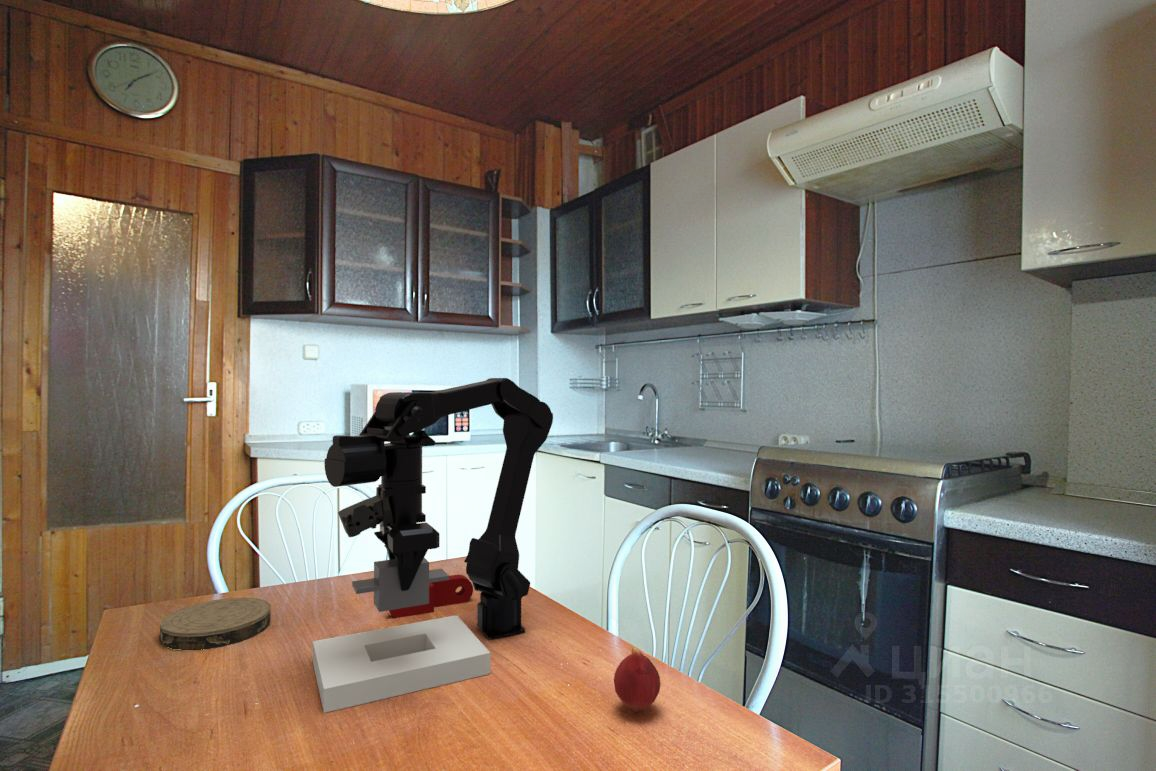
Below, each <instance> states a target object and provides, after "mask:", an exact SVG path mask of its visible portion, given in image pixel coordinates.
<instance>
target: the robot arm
mask: <svg viewBox="0 0 1156 771" xmlns="http://www.w3.org/2000/svg"><path fill="white" fill-rule="evenodd" d="M489 405H491V406H492V408H493V410H494V413H495V414H496V415H497V416H499V417H500V419H502V420H503V425H502V433H503V437H504V442H505V445H506V448H505V449H506V450H505V454H504V458H503V461H502V464H501V465H502V466H501V470H500V474H499V477H498V482H497V486H496V489H495V493H494V498H493V501H492V505H491V510H490V514H489V518H488V522H487V527H486V529H485V530H484V532H483V533H482V535H480V537H479V538H475V537H472V538H471V539H470V541H469V546H468V551H467V552H468V553H467V555H466V557H465V559H464V563H465V564H466V565H465V566H466V567H465V573H466V575H467V576H468V577H467V578H468V580H469V581H470V582H471V583H472V585H473V590H474V591H478V592H480V594H479V595H480V597H479V598H480V599H479V600H480V601H479V602H478V603H477V604H476V605H477V608H476V609H477V610H476V611H477V613H476V615H477V616H476V619H477V620H476V627H477V628H478V629H479V631H481V633H483V634H484V636H485V637H486V638H487V639H488V640H492V639H498V638H502V637H507V636H511V635H517V634H522V633H525V632H526V628H525V627H524V626H523V625H522V600H523V599H522V598H523V597H526V596H528V594H529V591H530V587H531V581H530V580H529V579H528V578H527V577H526V576H525V575H524V574H523V573H522V572H521V571H520V570H519V562H520V552H519V548H518V544H517V539H516V533H517V529H518V525H519V521H520V517H521V512H522V508H523V504H524V499H525V495H526V491H527V488H528V483H529V479H530V474H531V470H532V466H533V462H534V458H535V457H534V456H535V454H536V453H537V451H538V450H539V449H540V448H541V447H542V446H543V444H544V443H545V441H547V439H548V436H549V433H550V431H551V429H552V426H553V423H554V422H553V421H554V413H553V412H552V410H551V407H550V406H549V405H548V404H547V403H546V402H544V401H541V400H540V399H539V398H538V397H536V396H535V395H534V394H531V393H529V392H528V391H526V390H525V389H523V388H521V387H519V386H518V384H516V383H515V382H514V381H513V380H512V379H510V378H508V377H490V378H487V379H485V380H482V381H477V382H473V383H468V384H463V385H459V386H454V387H453V386H452V387H450V388H449V387H448V388H444V389H441V390H437V391H431V392H427V391H426V392H425V391H424V392H423V391H422V392H419V391H417V392H415V391H414V392H411V391H409V392H403V391H402V392H400V391H399V392H396V391H394V392H387V393H385V394H383V395H381V396H380V397H379V399H378V401H377V403H376V406H375V410H374V412H373V414H372V416H371V417H370V418H369V419H368V421H367V423H366V424H365V426H364V428H362V430H361V432H360V433H359V435H350V436H349V435H343V434H341V435H340V434H338V435H337V434H336V435H333V436H332V444H331V445H330V447H329V448H328V450H327V452H326V457H325V458H324V471H325V476H326V479H327V481H328V483H329V485H330V486H332V487H334V488H336V487H337V488H338V487H346V486H353V485H354V486H355V485H361V484H369V483H376V482H378V481H379V479H380V478H381V482H380V484H378V486H377V487H376V490H375V491H376V492H375V493H376V495H374V496H372V497H369V498H365V499H363V500H361V501H359V502H356V503H354V504H352V505H349V506H347V507H345V508H343V509H340V510H339V511H338V512H337V514H338V517H339V519H340V521H341V523H342V526H343V529H344V531H345V534H346V535H347V536H348V538H353V537H356V536H359V535H361V533H362V532H364V531H366V530H369V529H373V530H374V529H376V528H377V525H379V531H375V532H374V533H373V534H374V536H375V537H376V538H377V539H378V540H379V541H381V542H382V543H383V544H384V548H386V552H387V556H388V560H392V559H396V565H397V571H398V577H399V583H400V588H401V590H402V591H406V590H409V589H410V586H411V584H412V582H413V580H414V578H415V575H416V573H417V571H418V569H419V567H420V565H421V563H422V560H423V559H424V558H426V557H425V556H426V555H427V552H428V550H435V549H438V548H440V532H439V531H437V530H436V529H435V528H434V527H433V526H432V525H431V524H429V523H428V522H426V514H425V513H424V512H423V494H426V492H427V491H426V490H427V487H426V485H424V484H423V447H432V446H433V447H434V446H435V445H436V441H435V439H433V438H432V437H431V436H430V435H429V434H427V432H426V430H424V429H426V428H430V427H431V426H433V425H435V424H437V423H438V421H440V420H441V419H443V418H444V417H446V416H448V415H449V416H450V415H454V414H457V413H461V412H465V411H466V412H467V411H469V410H473V409H478V408H482V407H485V406H489Z"/></svg>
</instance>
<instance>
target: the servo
mask: <svg viewBox="0 0 1156 771" xmlns="http://www.w3.org/2000/svg"><path fill="white" fill-rule="evenodd" d="M449 576H450V575H449V574H448V573H447V572H446V571H445V570H444V569H443V568H436V569H430V562H429V561H428V560H427V559H426V557H424V559H423V560H422V563H421V565H420V567H419V569H418V571H417V573H416V575H415V578H414V580H413V582H412V584H411V586H410V589H409V590H406V591H402V590H401V588H400V583H399V577H398V571H397V565H396V559H392V560H389V559H386V560H385V559H384V560H376V561H373V578H368V579H359V580H353V581H351V586H352V588H353V590H354V592H355V594H356V595H360V594H367V593H372V592H373V604H374V606H375V607H376V609H377V611H378V612H379V613H382V612H389V610H394V609H400V608H406V607H412V606H418V605H423V604H429V583H432V582H438V581H445V580H449Z"/></svg>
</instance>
